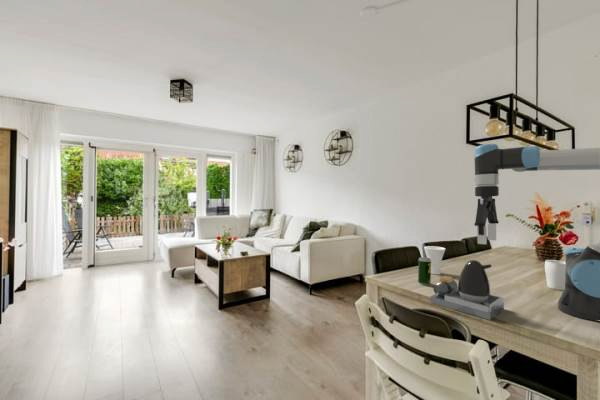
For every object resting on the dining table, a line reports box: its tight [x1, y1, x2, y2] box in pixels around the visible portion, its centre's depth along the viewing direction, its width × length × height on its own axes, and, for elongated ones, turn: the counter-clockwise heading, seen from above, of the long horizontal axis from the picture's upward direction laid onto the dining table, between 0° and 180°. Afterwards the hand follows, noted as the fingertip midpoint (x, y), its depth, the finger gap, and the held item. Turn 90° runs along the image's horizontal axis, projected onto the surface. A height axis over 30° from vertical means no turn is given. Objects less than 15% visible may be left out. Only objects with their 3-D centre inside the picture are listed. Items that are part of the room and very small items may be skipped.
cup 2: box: [544, 259, 566, 291], centre depth 131 cm, size 9×9×12 cm
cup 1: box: [423, 245, 446, 275], centre depth 154 cm, size 10×10×14 cm
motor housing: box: [429, 275, 505, 321], centre depth 108 cm, size 20×15×9 cm
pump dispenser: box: [457, 259, 492, 304], centre depth 106 cm, size 10×10×15 cm
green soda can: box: [417, 256, 432, 286], centre depth 135 cm, size 5×5×12 cm
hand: (487, 242), depth 109 cm, fingers open, 13 cm apart
